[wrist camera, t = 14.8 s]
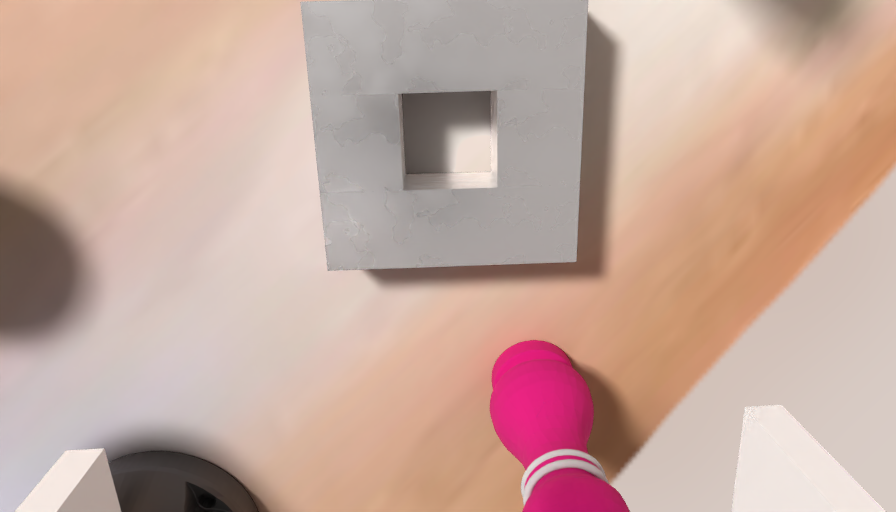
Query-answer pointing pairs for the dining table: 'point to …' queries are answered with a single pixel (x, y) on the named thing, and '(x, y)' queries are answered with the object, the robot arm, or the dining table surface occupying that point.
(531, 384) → the pepper mill
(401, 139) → the housing
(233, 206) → the dining table surface
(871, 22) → the dining table surface
